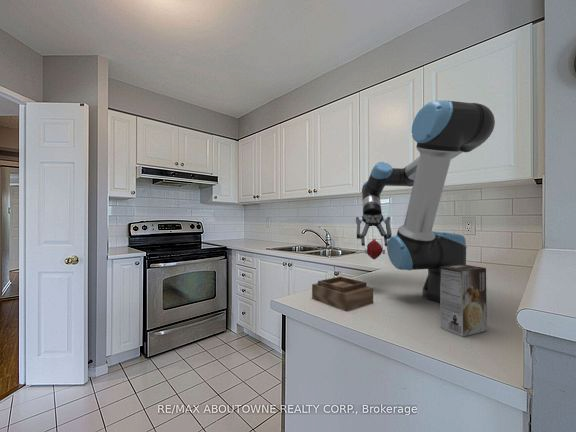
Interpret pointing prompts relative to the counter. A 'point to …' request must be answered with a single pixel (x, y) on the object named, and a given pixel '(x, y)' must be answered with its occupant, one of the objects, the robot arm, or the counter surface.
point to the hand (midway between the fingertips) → (374, 251)
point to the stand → (343, 293)
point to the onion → (374, 249)
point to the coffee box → (463, 299)
